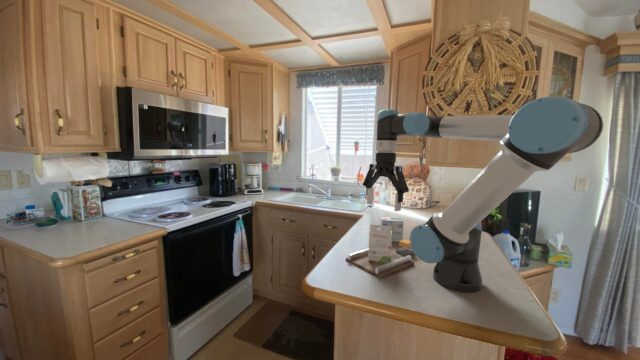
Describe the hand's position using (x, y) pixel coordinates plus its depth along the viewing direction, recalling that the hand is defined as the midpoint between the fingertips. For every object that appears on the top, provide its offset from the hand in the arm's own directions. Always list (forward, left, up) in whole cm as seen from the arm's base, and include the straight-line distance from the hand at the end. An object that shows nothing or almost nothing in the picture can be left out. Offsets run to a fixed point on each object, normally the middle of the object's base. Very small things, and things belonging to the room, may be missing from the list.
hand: (382, 207), depth 102 cm
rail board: (0, 0, -22) cm, 22 cm away
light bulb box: (+15, -26, -23) cm, 38 cm away
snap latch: (0, -17, -19) cm, 26 cm away
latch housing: (0, -17, -22) cm, 28 cm away
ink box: (0, 0, -22) cm, 22 cm away
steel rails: (0, 0, -22) cm, 22 cm away
